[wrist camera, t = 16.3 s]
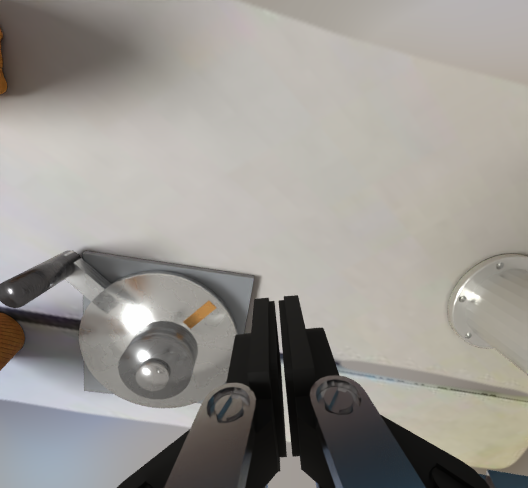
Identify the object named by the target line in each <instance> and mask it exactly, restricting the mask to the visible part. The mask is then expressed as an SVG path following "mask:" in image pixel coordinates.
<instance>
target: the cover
mask: <svg viewBox="0 0 528 488" xmlns="http://www.w3.org/2000/svg"><path fill="white" fill-rule="evenodd" d="M197 355H198V346H197V342H196V340H195V338H194V336H193V335H192V334H191V333H190V332H189V331H188V330H187V329H186V328H185V327H183V326H181V325H179V324H177V323H173V322H169V321H157V322H152V323H149V324H147V325H145V326H143V327H142V328H141V329H140V330H139V331H138V332H137V333H136V335H135V336H134V338H133V339H132V341H131V342H130V344H129V345H128V347H127V348H126V350H125V351H124V353H123V354H122V356H121V358H120V360H119V365H118V371H119V375H120V378H121V380H122V381H123V383H124V384H125V385H126V387H127V388H128V389H130V390H131V391H132V392H134V393H135V394H137V395H139V396H142V397H145V398H148V399H157V400H159V399H167V398H171V397H174V396H176V395H178V394H179V393H181V392H182V391H183V390H184V389H185V388H186V387H187V386H188V384H189V382H190V380H191V376H192V373H193V369H194V366H195V362H196V359H197Z"/></svg>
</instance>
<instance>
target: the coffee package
mask: <svg viewBox="0 0 528 488" xmlns="http://www.w3.org/2000/svg"><path fill="white" fill-rule="evenodd" d="M2 37H3V34H2V31H1V28H0V94H3V93H4V92H6V90H7V82H6V80H5V78H4V74H3V72H2V65H3V58H2V54H1V39H2Z"/></svg>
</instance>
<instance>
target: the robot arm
mask: <svg viewBox="0 0 528 488" xmlns="http://www.w3.org/2000/svg"><path fill="white" fill-rule="evenodd" d="M279 310H280V323H281V335H282V348H283V360H284V372H285V383H286V393H287V403H288V414H289V424H290V434H291V445H292V455H293V456H300V461H301V469H302V470H303V471H304V472H305V473H306V474H308V475H309V476H310V477H311V478H312V479H313V480H314V481H315V482H316V487H317V488H528V476H524V475H517V474H511V473H505V472H499V471H493V470H487V472H486V475H482V474H478V473H477V472H476V471H475V470H474V469H472V468H471V467H469V466H468V465H467V464H465V463H464V462H462V461H461V460H459V459H457V458H455V457H454V456H452V455H450V454H448V453H447V452H445V451H443V450H441V449H440V448H438V447H436V446H434V445H433V444H431V443H429V442H427V441H426V440H424V439H422V438H420V437H419V436H417V435H415V434H413V433H412V432H410V431H408V430H406V429H405V428H403V427H401V426H399V425H398V424H396V423H394V422H392V421H390V420H389V419H387V418H385V417H383V416H382V415H380V414H379V412H378V411H377V409H376V407H375V406H374V404H373V403H372V401H371V400H370V398H369V396H368V395H367V393H366V392H365V390H364V389H363V388H362V387H361V385H360V384H358V383H357V382H355V381H354V380H352V379H350V378H347V377H344V376H339V373H338V370H337V367H336V364H335V361H334V358H333V355H332V352H331V349H330V346H329V343H328V340H327V337H326V334H325V331H324V329H323V328H311V329H305V324H304V320H303V316H302V311H301V307H300V302H299V298H298V295H296V296H284V300H281V301H279ZM448 318H449V322H450V324H451V327H452V329H453V330H454V331H455V332H456V334H457V335H458V336H459V337H461V338H462V339H463V340H464V341H466V342H467V343H469V344H471V345H473V346H476V347H479V348H486V349H493V348H494V349H495V350H497V351H498V352H499V353H500V354H502V355H503V356H504V357H505V358H507V359H508V360H509V361H511V362H512V363H513V364H514V365H516V366H517V367H518V368H519V369H521V370H522V371H523V372H524V373H526V374H527V375H528V256H525V255H519V254H504V255H499V256H495V257H492V258H490V259H487V260H485V261H483V262H481V263H479V264H478V265H476V266H475V267H473V268H472V269H471V270H469V271H468V272H467V273H466V274H465V275H464V276H463V277H462V278H461V279H460V281H459V282H458V284H457V285H456V286H455V288H454V290H453V292H452V294H451V296H450V300H449V304H448ZM280 457H287V455H286V438H285V423H284V407H283V392H282V376H281V362H280V352H279V342H278V332H277V322H276V312H275V303H274V301H269V298H261V299H255V300H254V309H253V320H252V330H251V333H249V334H237V335H235V339H234V344H233V350H232V355H231V360H230V366H229V371H228V376H227V382H226V384H224V385H221V386H219V387H217V388H215V389H213V390H212V391H211V392H210V393H209V394H208V395H207V396H206V397H205V399H204V400H203V402H202V404H201V406H200V409H199V411H198V413H197V415H196V418H195V420H194V422H193V424H192V427H191V429H190V430H189V431H187V432H186V433H185V434H183V435H182V436H181V437H180V438H178V439H177V440H176V441H174V443H172V444H171V445H169V446H168V447H167V448H165V449H164V450H163V451H162V452H160V453H159V454H158V455H157V456H155V457H154V458H153V459H151V460H150V461H149V462H148V463H146V464H145V465H144V466H143V467H141V468H140V469H139V470H137V471H136V472H135V473H134V474H132V475H131V476H130V477H128V478H127V479H126V480H125V481H123V482H122V483H121V484H120V485H119V486H118V487H117V488H268V485H267V484H268V483H269V481H270V480H271V479H272V478H273V477H274V476H275V474H276V473H277V472H278V471H280Z"/></svg>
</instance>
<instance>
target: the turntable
mask: <svg viewBox="0 0 528 488" xmlns="http://www.w3.org/2000/svg"><path fill="white" fill-rule="evenodd" d="M64 279H65V280H66V281H67V282H68V283H69V284H71V285H72V286H73V287H74V288H75V289H77V290H78V291H79V292H80V293H82V294H83V295H84V296H85V297H86V298H88V299H89V300H90V301H91V303H90V304H89V306H88V307H87V309H86V310H85V312H84V315H83V317H82V319H81V323H80V327H79V346H80V350H81V354H82V357H83V359H84V362H85V363H86V365H87V367H88V369H89V370H90V372H91V373H92V374H93V376H94V377H95V378H96V379H97V380H98V381H99V382H100V383H101V384H102V385H103V386H104V387H105V388H107V389H108V390H109V391H111V392H112V393H114V394H115V395H117V396H119V397H121V398H123V399H125V400H127V401H130V402H132V403H135V404H139V405H142V406H147V407H153V408H176V407H182V406H187V405H190V404H193V403H196V402H199V401H201V400H203V399H205V397H206V396H207V395H208V394H209V393H210V392H211V391H212V390H213V389H215V388H217V387H219V386H221V385H223V384H224V383H225V382H226V380H227V376H228V371H229V366H230V360H231V355H232V350H233V344H234V339H235V335H237V334H238V333H237V327H236V324H235V321H234V318H233V316H232V314H231V312H230V310H229V308H228V307H227V306H226V304H225V303H224V301H223V300H222V299H221V298H220V297H219V296H218V295H217V294H216V293H215V292H214V291H212V290H211V289H210V288H208V287H207V286H205V285H204V284H202V283H201V282H199V281H197V280H195V279H193V278H190V277H187V276H185V275H182V274H178V273H173V272H167V271H145V272H138V273H134V274H130V275H128V276H125V277H123V278H120V279H118V280H117V281H115V282H113V283H110V282H108V281H107V280H106V279H105V278H104V277H103V276H102V275H100V274H99V273H98V272H97V271H96V270H95V269H93V268H92V267H91V266H90V265H89V264H88V263H87V262H85V261H84V260H83V259H82V258H81V257H80V255H79V254H77V253H76V252H74V251H73V250H72V251H65V252H63V253H61V254H59V255H57V256H55V257H53V258H51V259H49V260H47V261H45V262H43V263H41V264H39V265H37V266H35V267H33V268H31V269H29V270H27V271H25V272H23V273H21V274H19V275H17V276H15V277H13V278H11V279H9V280H7V281H5V282H3V283H1V284H0V301H1V302H2V303H3V304H5V305H6V306H9V307H12V308H19V307H22V306H24V305H25V304H27V303H28V302H30V301H31V300H33V299H35V298H36V297H38V296H39V295H41V294H42V293H44V292H45V291H47V290H49V289H50V288H52V287H53V286H55V285H56V284H58V283H59V282H61V281H62V280H64ZM157 321H169V322H173V323H177V324H179V325H181V326H183V327H185V328H186V329H187V330H188V331H189V332H190V333H191V334H192V335H193V336H194V338H195V340H196V342H197V346H198V355H197V359H196V362H195V366H194V369H193V373H192V376H191V380H190V382H189V384H188V386H187V387H186V388H185V389H184V390H183V391H182V392H181V393H179V394H178V395H176V396H174V397H171V398H167V399H159V400H157V399H148V398H145V397H142V396H139V395H137V394H135V393H134V392H132V391H131V390H130V389H128V388H127V387H126V385H125V384H124V383H123V381H122V380H121V378H120V375H119V371H118V365H119V360H120V358H121V356H122V354H123V353H124V351H125V350H126V348H127V347H128V345H129V344H130V342H131V341H132V339H133V338H134V336H135V335H136V333H137V332H138V331H139V330H140V329H141V328H142V327H143V326H145V325H147V324H149V323H152V322H157Z"/></svg>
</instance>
